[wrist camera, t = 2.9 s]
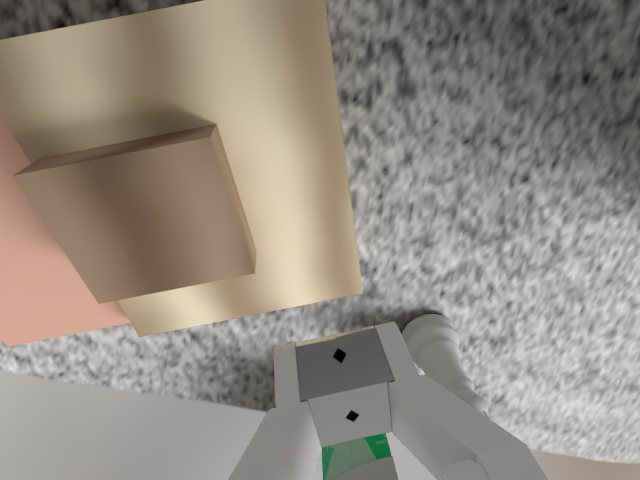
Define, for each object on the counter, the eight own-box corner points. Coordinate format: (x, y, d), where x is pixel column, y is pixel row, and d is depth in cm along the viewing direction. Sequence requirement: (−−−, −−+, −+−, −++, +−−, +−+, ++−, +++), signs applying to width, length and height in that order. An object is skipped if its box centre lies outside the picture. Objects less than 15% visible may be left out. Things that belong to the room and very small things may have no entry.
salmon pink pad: (2, 43, 16) (-21, 45, 15) (150, 304, 25) (143, 320, 24) (-196, 81, 16) (-236, 87, 15) (21, 329, 25) (7, 346, 24)
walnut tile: (216, 124, 16) (210, 137, 14) (256, 251, 20) (255, 273, 18) (39, 158, 16) (12, 175, 14) (113, 279, 20) (98, 304, 18)
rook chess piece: (395, 318, 28) (433, 414, 21) (452, 304, 28) (508, 397, 21) (401, 355, 31) (437, 452, 24) (453, 342, 30) (504, 437, 24)
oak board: (314, -18, 16) (322, -23, 14) (353, 264, 25) (362, 293, 22) (7, 42, 16) (-42, 48, 14) (153, 303, 25) (139, 336, 22)
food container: (293, 372, 30) (301, 511, 22) (366, 357, 30) (401, 490, 22) (320, 448, 37) (333, 577, 29) (379, 435, 37) (410, 561, 28)
